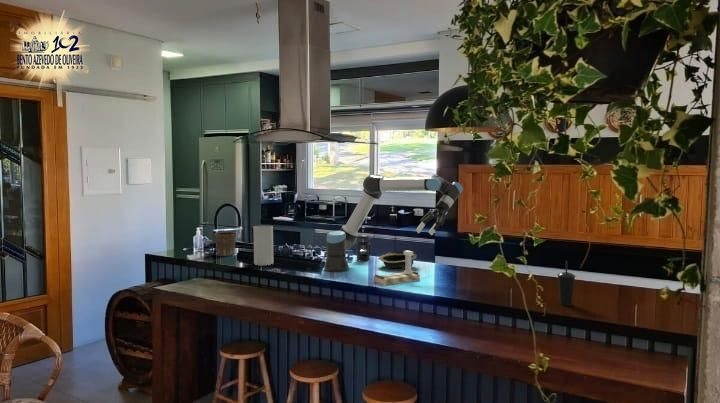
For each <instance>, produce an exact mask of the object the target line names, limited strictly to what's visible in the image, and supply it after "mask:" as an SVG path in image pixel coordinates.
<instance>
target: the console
mask: <svg viewBox="0 0 720 403" xmlns="http://www.w3.org/2000/svg"><path fill="white" fill-rule="evenodd" d="M411 271H413V274H405V273H404V271H403V272H398V273H397V272H396V273H389V274H383V275H380V274H379V275H378V274H374V276H373V282H374V283H376V284H380V285H383V286H389V285H390V286H391V285H395V284H402V283H409V282H417V281H420V275H421V274H419V271H414V270H412V269H411Z"/></svg>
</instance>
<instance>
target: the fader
mask: <svg viewBox="0 0 720 403" xmlns="http://www.w3.org/2000/svg"><path fill="white" fill-rule="evenodd" d="M403 252H404V255H405V266H404V267H405V270H403V272H404V273H405V274H413V271H414V270H412V266H411V255H413V253H414V251H411V250H407V249H406V250H403ZM411 270H412V271H411Z"/></svg>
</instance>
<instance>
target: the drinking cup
mask: <svg viewBox="0 0 720 403" xmlns="http://www.w3.org/2000/svg"><path fill="white" fill-rule="evenodd" d="M575 278H576V274H574V273H572V272H569V271H568V260H565V271H562V272H560V273H557V282H558V293H559V304H560V306H563V307H564V306H565V307H572V305H573V297H574V289H575V288H574V287H575V281H576V280H575Z"/></svg>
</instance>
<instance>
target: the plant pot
mask: <svg viewBox="0 0 720 403" xmlns="http://www.w3.org/2000/svg"><path fill="white" fill-rule="evenodd" d="M237 234H238V233H237V232H236V231H235V232H233V231H226V232H225V231H223V232H214V233H213V235H214V240H215V243H216V244H215V246H216V254H217V256H218V257H219V256H220V257H223V256H225V257H230V256H231V255H233V256H234V255H235V252H236V251H235V250H236V249H235V248H236V239H237Z"/></svg>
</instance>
